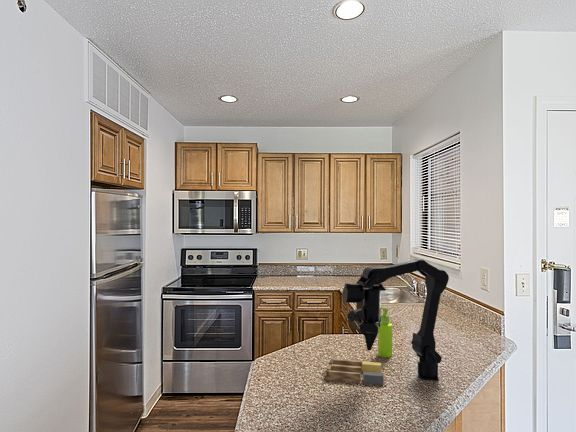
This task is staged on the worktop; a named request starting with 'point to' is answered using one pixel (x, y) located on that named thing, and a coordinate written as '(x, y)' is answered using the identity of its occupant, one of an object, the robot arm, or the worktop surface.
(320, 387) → the worktop surface
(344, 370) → the slot board
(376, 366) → the yellow rectangular block
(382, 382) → the tall grey block
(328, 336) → the worktop surface
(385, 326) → the soap dispenser
